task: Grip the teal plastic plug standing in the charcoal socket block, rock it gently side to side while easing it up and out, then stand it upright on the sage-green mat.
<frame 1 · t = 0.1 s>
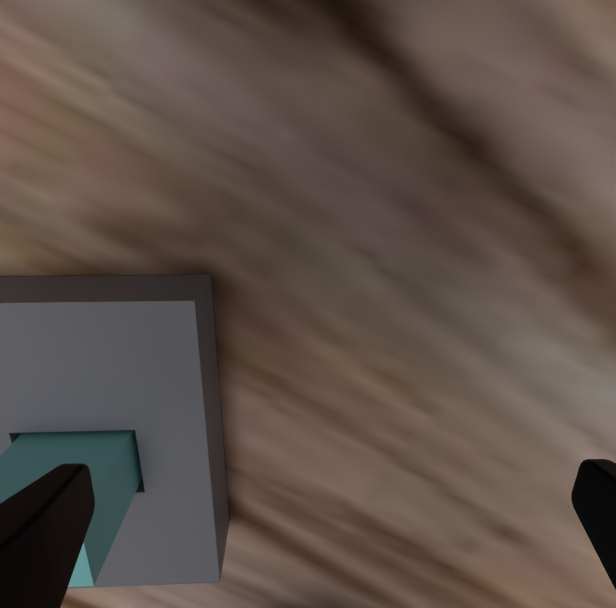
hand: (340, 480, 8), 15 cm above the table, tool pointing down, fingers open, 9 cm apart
socket block: (112, 414, 24), on the table
plug: (74, 470, 20), in the socket block
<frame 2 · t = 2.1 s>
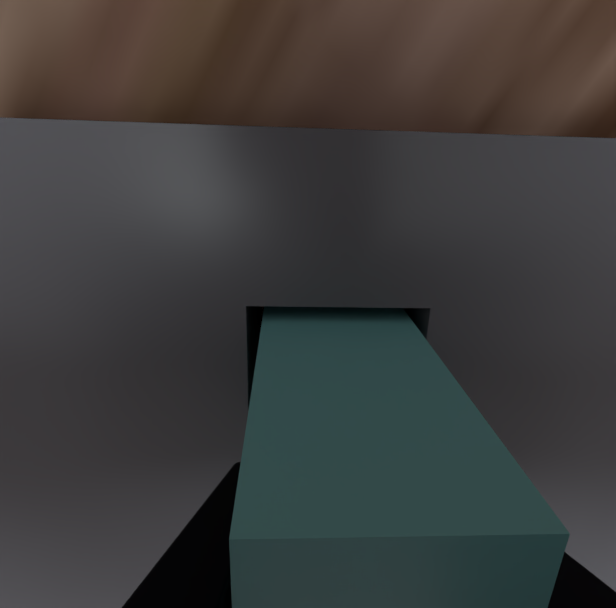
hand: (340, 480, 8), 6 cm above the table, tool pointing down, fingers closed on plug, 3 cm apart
socket block: (319, 348, 13), on the table
plug: (334, 443, 9), in the socket block, touching gripper
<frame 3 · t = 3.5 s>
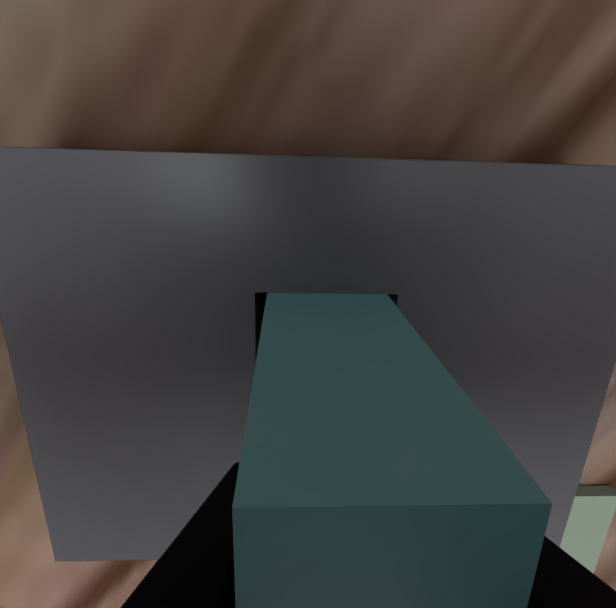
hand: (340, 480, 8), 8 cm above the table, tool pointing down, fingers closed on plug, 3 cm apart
socket block: (313, 332, 15), on the table
mat: (453, 589, 20), on the table
plug: (333, 441, 9), point 7 cm above the table, touching gripper, socket block
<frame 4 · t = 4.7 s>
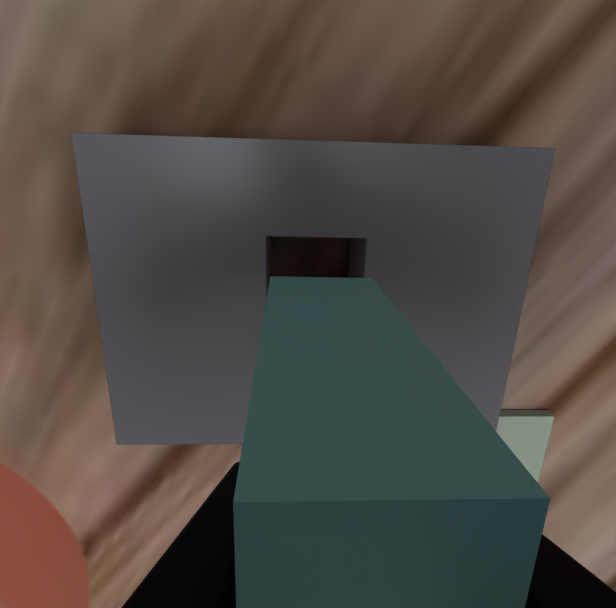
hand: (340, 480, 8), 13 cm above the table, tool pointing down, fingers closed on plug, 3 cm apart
socket block: (309, 280, 20), on the table
mat: (424, 499, 25), on the table
plug: (333, 442, 9), point 12 cm above the table, touching gripper
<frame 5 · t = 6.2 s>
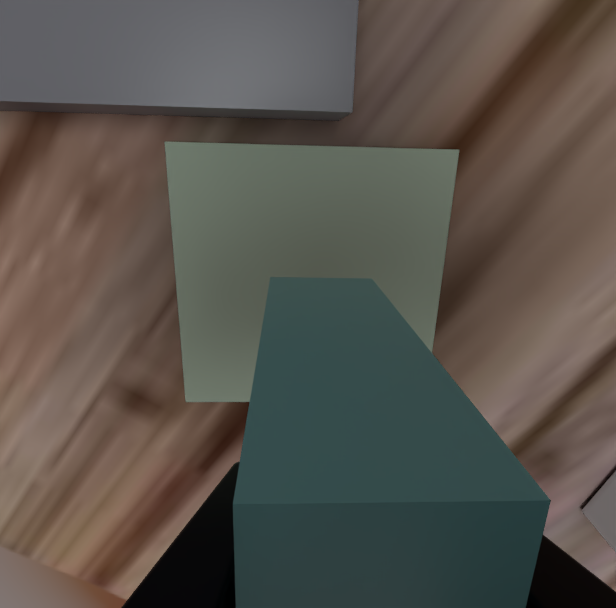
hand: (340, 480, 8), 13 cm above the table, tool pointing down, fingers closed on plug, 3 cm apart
mat: (309, 283, 20), on the table
plug: (333, 442, 9), point 12 cm above the table, touching gripper
when the fingers open (8 cm above the table, at t = 7.3 s): plug drops 1 cm, resting on mat.
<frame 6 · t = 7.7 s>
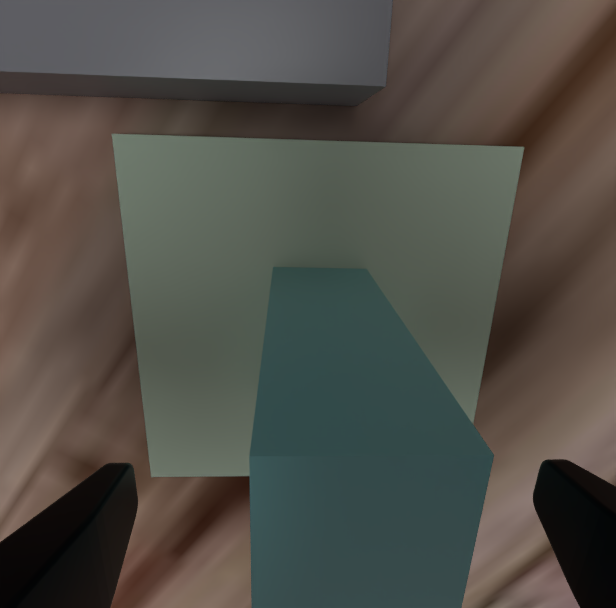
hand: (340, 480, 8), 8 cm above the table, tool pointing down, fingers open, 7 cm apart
mat: (314, 324, 15), on the table
plug: (329, 416, 10), on the mat, point 5 cm above the table
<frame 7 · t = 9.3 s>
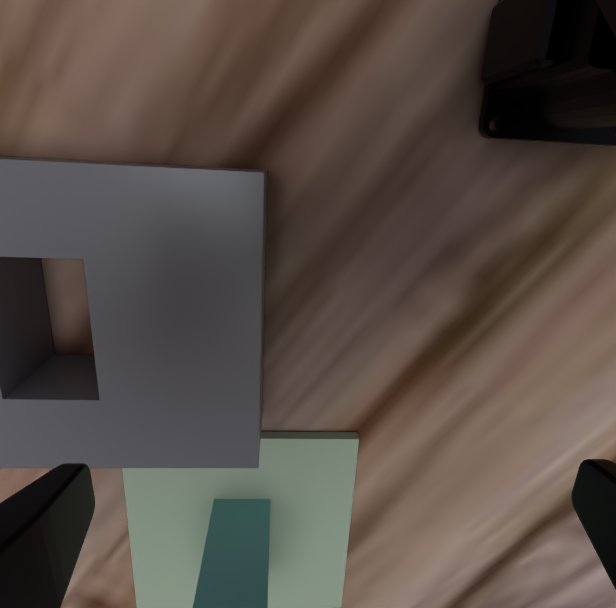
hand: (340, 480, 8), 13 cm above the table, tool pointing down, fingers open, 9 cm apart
socket block: (87, 298, 19), on the table
mat: (242, 522, 24), on the table
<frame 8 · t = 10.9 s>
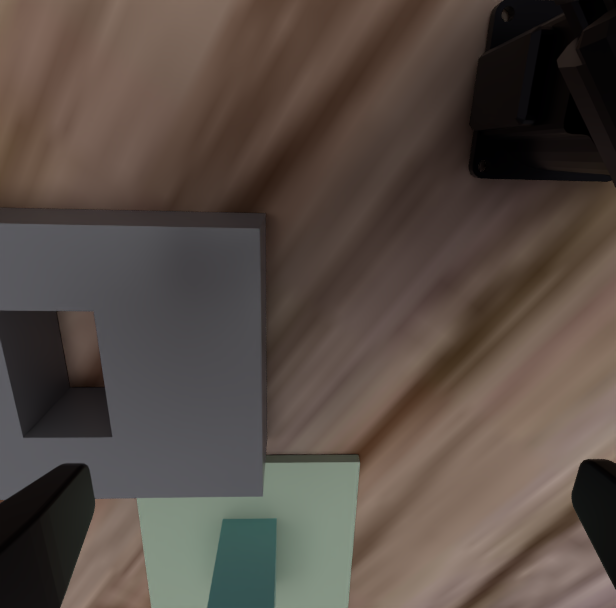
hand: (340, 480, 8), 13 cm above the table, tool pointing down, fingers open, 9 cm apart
socket block: (99, 336, 21), on the table
mat: (250, 539, 25), on the table
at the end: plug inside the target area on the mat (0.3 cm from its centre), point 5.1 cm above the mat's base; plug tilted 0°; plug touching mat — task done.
